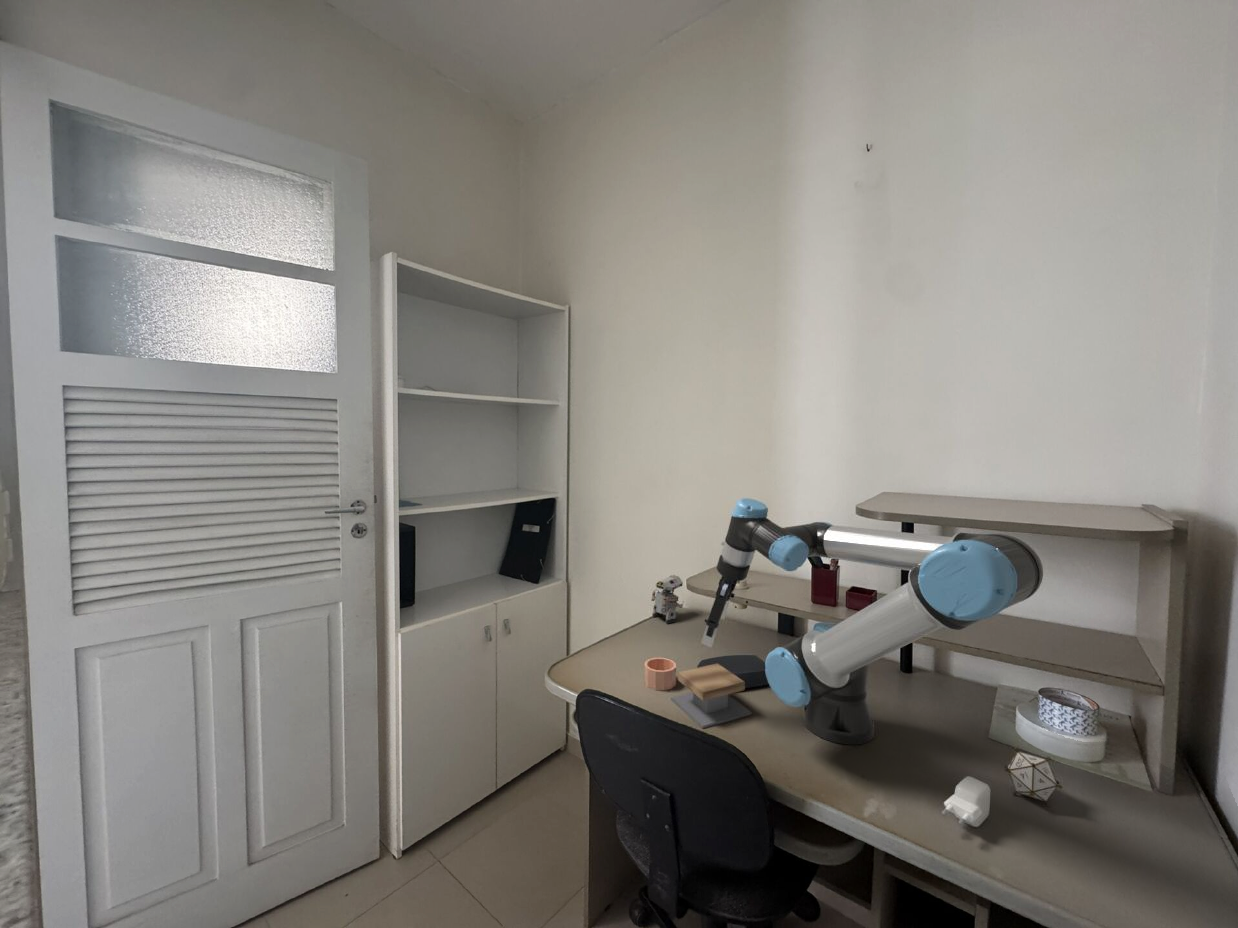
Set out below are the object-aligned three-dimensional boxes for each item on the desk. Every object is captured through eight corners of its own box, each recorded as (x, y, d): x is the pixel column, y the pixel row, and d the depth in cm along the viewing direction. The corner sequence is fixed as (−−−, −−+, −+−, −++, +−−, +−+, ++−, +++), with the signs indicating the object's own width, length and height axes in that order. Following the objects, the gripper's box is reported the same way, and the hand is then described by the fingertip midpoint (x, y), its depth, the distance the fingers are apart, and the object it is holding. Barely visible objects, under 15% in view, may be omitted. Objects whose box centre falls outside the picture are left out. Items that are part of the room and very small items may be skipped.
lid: (744, 689, 124) (744, 681, 124) (702, 700, 119) (703, 692, 119) (717, 670, 134) (717, 663, 134) (677, 679, 129) (677, 672, 129)
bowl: (681, 686, 137) (681, 667, 137) (654, 692, 134) (654, 673, 134) (665, 672, 145) (665, 655, 145) (639, 678, 141) (639, 660, 141)
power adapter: (967, 847, 84) (968, 812, 84) (935, 828, 88) (936, 795, 88) (994, 818, 91) (995, 785, 90) (963, 801, 95) (964, 771, 94)
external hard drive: (693, 670, 145) (694, 656, 145) (754, 664, 151) (755, 650, 150) (715, 693, 133) (716, 677, 132) (780, 685, 138) (781, 670, 138)
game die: (1035, 823, 95) (1039, 800, 89) (990, 780, 102) (991, 756, 96) (1071, 794, 96) (1078, 770, 90) (1024, 754, 103) (1027, 729, 98)
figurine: (689, 619, 187) (689, 578, 186) (663, 625, 181) (664, 583, 180) (673, 611, 195) (673, 572, 194) (648, 617, 189) (649, 576, 188)
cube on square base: (751, 714, 124) (752, 691, 123) (702, 728, 118) (703, 704, 117) (716, 688, 136) (717, 667, 136) (670, 699, 130) (671, 678, 130)
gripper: (731, 535, 138) (711, 601, 145) (708, 575, 116) (685, 650, 123) (758, 545, 136) (736, 612, 143) (740, 588, 114) (715, 664, 121)
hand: (713, 630), depth 133 cm, fingers open, 13 cm apart
